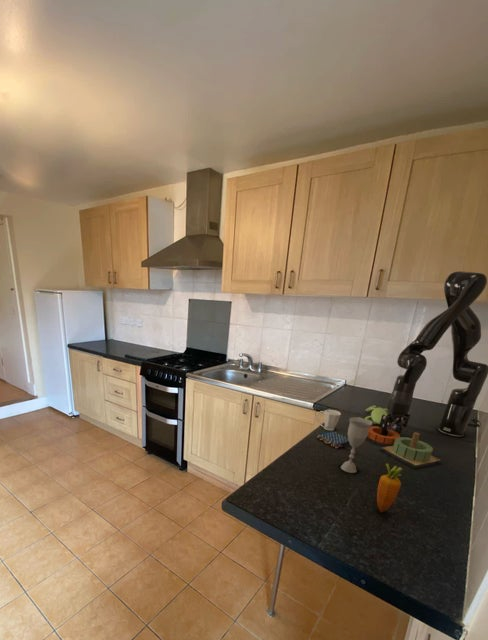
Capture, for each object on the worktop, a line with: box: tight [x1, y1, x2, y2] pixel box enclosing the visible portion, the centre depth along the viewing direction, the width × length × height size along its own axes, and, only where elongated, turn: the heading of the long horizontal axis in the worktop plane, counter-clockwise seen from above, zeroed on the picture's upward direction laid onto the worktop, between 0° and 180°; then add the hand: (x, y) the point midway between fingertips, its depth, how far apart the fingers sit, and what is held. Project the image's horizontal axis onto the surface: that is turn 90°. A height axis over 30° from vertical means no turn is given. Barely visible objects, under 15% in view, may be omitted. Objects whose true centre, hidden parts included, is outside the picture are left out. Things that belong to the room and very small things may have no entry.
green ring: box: [392, 436, 434, 462], centre depth 125 cm, size 12×12×4 cm
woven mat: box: [316, 431, 349, 449], centre depth 135 cm, size 10×11×2 cm
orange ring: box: [367, 425, 401, 445], centre depth 138 cm, size 12×12×4 cm
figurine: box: [357, 405, 410, 430], centre depth 159 cm, size 18×27×6 cm
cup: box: [315, 408, 342, 432], centre depth 147 cm, size 7×10×8 cm
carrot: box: [376, 463, 403, 514], centre depth 90 cm, size 5×5×15 cm
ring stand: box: [381, 431, 441, 466], centre depth 124 cm, size 14×14×10 cm
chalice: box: [340, 416, 373, 474], centre depth 112 cm, size 7×7×18 cm
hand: (389, 436), depth 141 cm, fingers open, 7 cm apart
